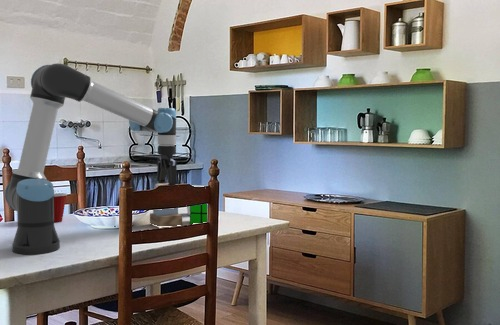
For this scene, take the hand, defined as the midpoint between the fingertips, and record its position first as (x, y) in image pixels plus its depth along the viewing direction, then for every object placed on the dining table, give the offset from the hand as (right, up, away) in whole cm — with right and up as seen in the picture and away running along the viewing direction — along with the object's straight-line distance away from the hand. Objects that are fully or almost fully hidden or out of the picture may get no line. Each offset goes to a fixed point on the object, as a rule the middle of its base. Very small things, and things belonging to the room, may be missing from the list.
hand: (166, 199), depth 233 cm
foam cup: (+9, -9, +26) cm, 29 cm away
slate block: (-1, -6, 0) cm, 6 cm away
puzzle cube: (+15, -11, +7) cm, 20 cm away
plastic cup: (-49, -10, +4) cm, 50 cm away
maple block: (0, 0, 0) cm, 0 cm away
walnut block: (0, -11, +1) cm, 11 cm away
